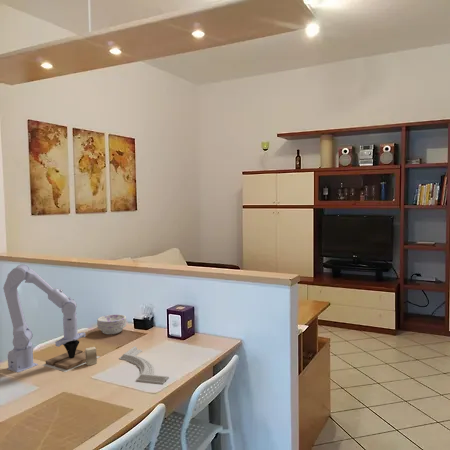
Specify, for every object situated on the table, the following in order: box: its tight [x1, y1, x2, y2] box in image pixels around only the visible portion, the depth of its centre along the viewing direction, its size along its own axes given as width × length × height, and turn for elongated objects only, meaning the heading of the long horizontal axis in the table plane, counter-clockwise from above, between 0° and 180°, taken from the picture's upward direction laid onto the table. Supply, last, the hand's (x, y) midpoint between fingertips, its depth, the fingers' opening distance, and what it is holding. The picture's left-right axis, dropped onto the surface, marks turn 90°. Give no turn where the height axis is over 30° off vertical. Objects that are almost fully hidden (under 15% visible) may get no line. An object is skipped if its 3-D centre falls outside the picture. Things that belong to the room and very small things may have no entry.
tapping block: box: [84, 346, 98, 366], centre depth 186 cm, size 7×4×3 cm
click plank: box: [55, 351, 98, 370], centre depth 188 cm, size 16×8×1 cm, turn 149°
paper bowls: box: [96, 314, 127, 335], centre depth 231 cm, size 15×15×8 cm
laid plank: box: [45, 349, 84, 366], centre depth 192 cm, size 16×5×2 cm, turn 149°
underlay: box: [42, 355, 100, 373], centre depth 190 cm, size 19×16×1 cm
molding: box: [118, 346, 170, 385], centre depth 182 cm, size 42×12×3 cm, turn 29°
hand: (71, 357), depth 190 cm, fingers closed
